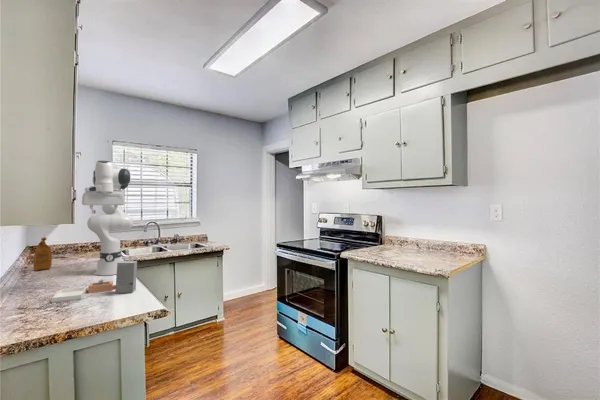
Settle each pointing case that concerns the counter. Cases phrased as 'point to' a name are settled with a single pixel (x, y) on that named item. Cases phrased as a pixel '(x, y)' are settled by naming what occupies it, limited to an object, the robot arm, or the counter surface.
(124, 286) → the skincare box
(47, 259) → the coffee package
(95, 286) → the brown open box
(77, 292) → the tray
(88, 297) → the counter surface
